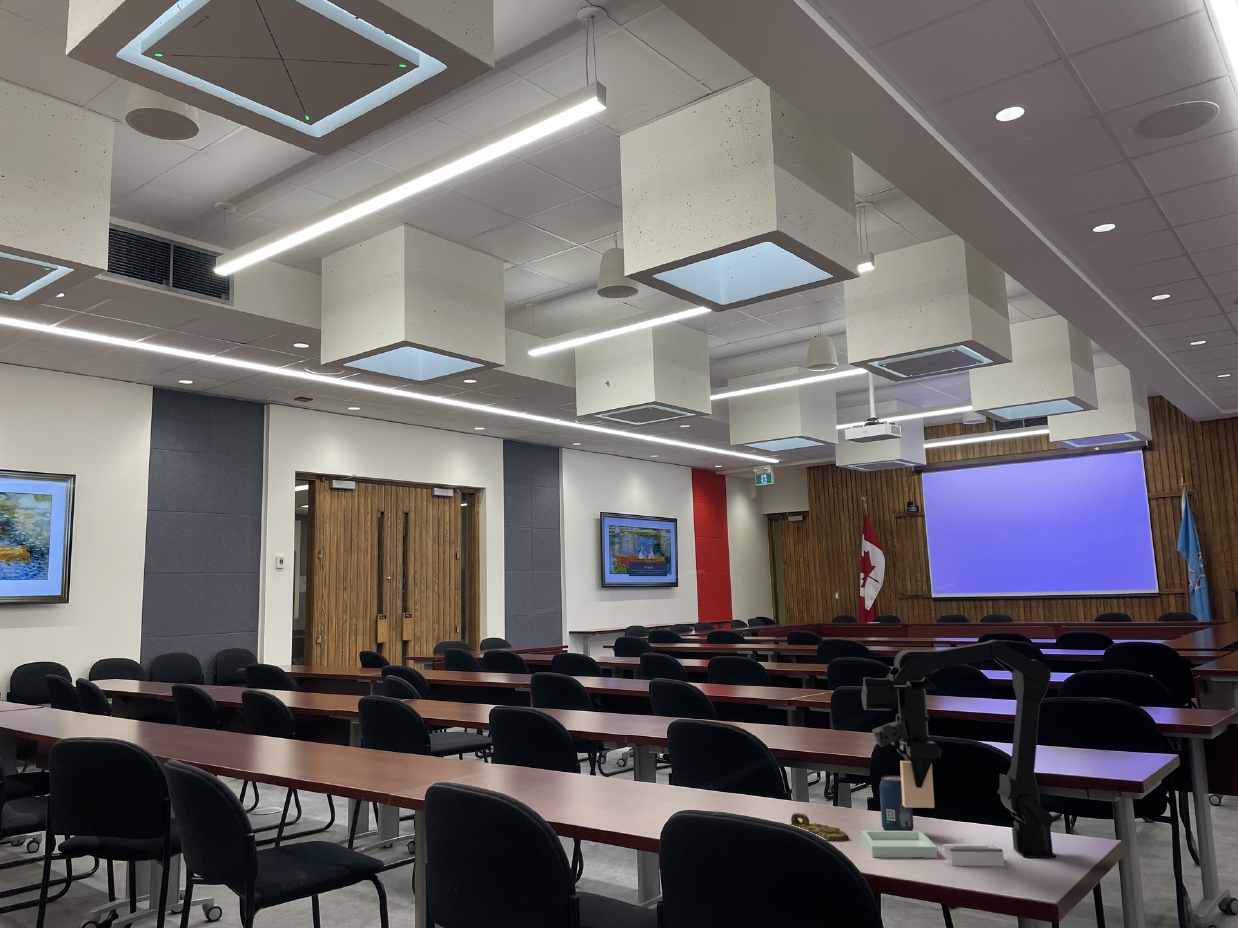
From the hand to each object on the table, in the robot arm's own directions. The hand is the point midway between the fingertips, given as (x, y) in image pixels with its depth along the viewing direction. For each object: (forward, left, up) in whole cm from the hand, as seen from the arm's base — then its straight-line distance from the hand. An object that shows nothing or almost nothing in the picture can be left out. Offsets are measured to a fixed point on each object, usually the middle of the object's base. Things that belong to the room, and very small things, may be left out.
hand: (917, 786), depth 183 cm
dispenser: (-9, +6, -13) cm, 17 cm away
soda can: (+1, -17, -14) cm, 22 cm away
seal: (+19, -15, -14) cm, 28 cm away
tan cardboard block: (0, 0, -4) cm, 4 cm away
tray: (+4, -3, -13) cm, 14 cm away
